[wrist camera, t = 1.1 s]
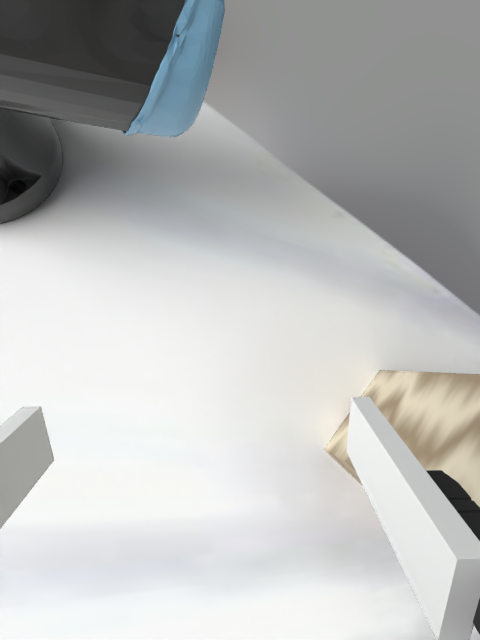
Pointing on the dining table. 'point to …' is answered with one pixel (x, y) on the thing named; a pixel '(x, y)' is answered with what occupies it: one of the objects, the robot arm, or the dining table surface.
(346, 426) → the wooden stand
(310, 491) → the dining table surface
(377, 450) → the robot arm
